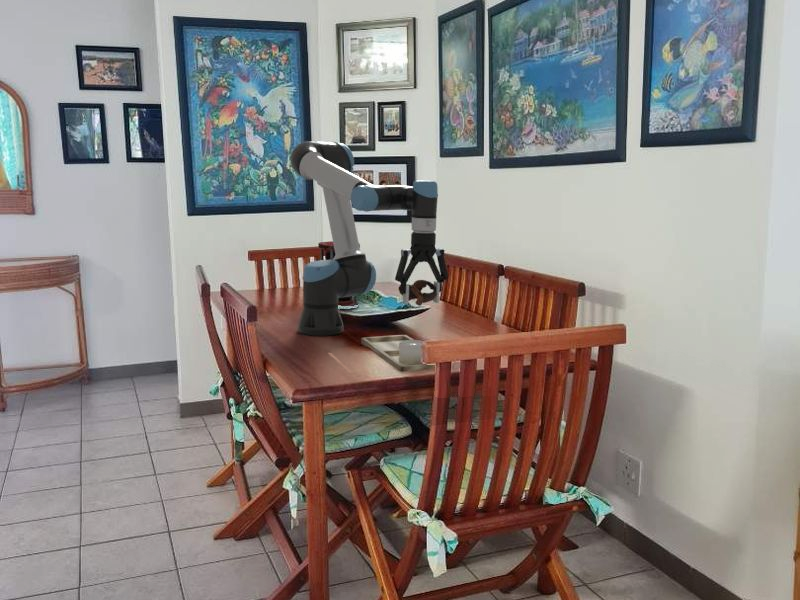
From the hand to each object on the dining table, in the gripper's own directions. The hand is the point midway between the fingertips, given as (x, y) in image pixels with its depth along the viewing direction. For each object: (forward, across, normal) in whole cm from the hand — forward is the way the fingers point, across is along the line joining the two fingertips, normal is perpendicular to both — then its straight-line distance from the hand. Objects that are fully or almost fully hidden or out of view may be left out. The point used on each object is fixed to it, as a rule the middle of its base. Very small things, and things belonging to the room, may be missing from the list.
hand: (420, 303), depth 228 cm
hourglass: (+14, -4, +66) cm, 68 cm away
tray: (+13, -10, -12) cm, 20 cm away
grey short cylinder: (+12, -11, -20) cm, 26 cm away
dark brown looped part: (0, -1, +2) cm, 2 cm away
